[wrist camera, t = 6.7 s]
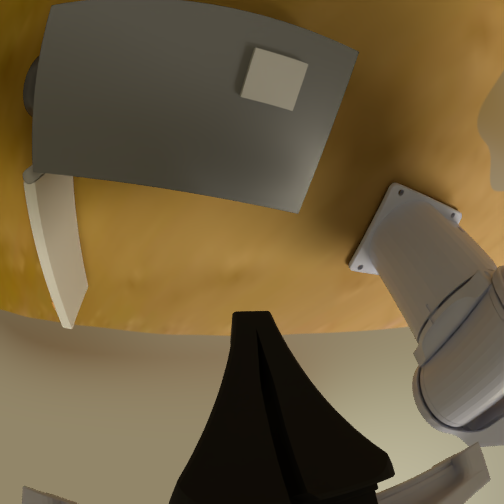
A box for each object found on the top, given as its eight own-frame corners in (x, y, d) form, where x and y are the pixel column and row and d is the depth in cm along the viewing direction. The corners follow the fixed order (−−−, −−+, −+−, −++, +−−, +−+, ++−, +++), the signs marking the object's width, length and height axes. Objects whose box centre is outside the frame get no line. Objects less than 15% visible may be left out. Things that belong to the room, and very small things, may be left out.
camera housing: (319, 53, 12) (365, 51, 8) (277, 174, 17) (301, 220, 13) (78, 18, 9) (24, 9, 5) (59, 140, 13) (9, 175, 9)
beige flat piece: (88, 286, 20) (72, 329, 17) (69, 283, 20) (52, 324, 16) (71, 141, 13) (33, 169, 10) (49, 142, 13) (8, 169, 9)
